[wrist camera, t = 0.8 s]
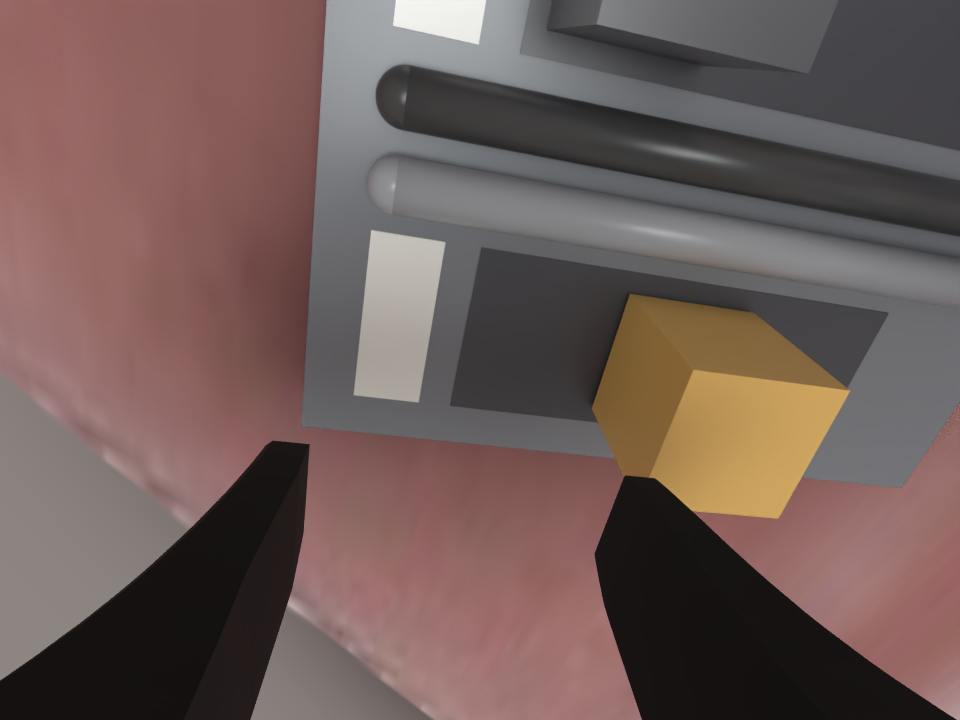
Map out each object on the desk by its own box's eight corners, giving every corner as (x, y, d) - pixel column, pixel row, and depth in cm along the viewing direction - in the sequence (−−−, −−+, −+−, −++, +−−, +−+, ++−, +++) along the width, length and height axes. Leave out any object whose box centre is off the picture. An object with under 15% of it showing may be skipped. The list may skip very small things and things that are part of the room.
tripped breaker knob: (753, 312, 18) (850, 390, 14) (705, 421, 19) (778, 518, 15) (630, 293, 17) (693, 369, 13) (591, 408, 19) (637, 506, 15)
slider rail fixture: (1197, -83, 16) (1648, -156, 10) (866, 455, 24) (1007, 585, 18) (362, -355, 12) (308, -725, 6) (311, 392, 20) (268, 531, 14)
